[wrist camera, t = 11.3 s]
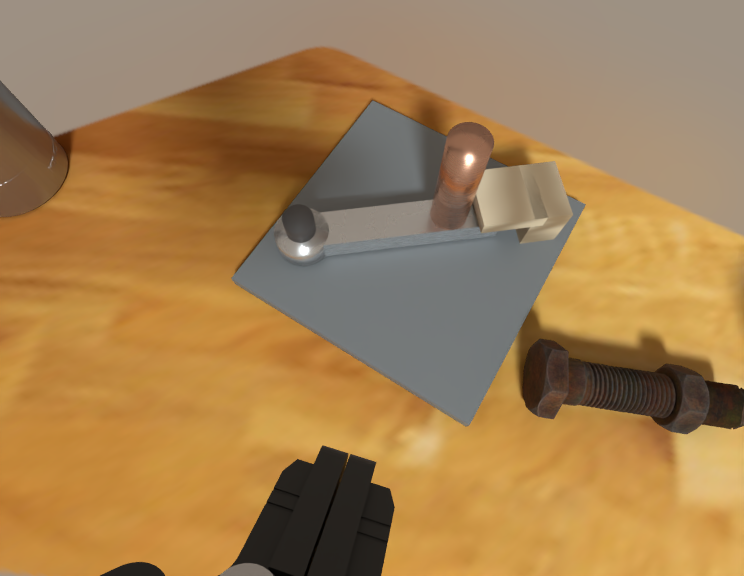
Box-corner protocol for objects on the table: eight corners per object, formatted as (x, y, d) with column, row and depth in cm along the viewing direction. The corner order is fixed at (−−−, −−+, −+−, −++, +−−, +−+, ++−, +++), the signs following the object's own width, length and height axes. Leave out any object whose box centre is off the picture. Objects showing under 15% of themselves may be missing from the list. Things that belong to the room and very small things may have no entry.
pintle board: (466, 426, 36) (482, 418, 30) (235, 283, 40) (214, 255, 35) (580, 211, 42) (609, 174, 37) (372, 109, 47) (372, 63, 41)
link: (280, 269, 39) (247, 195, 28) (276, 222, 40) (244, 137, 30) (496, 243, 40) (540, 162, 29) (485, 198, 41) (522, 107, 31)
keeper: (473, 249, 40) (484, 225, 36) (461, 199, 41) (470, 171, 38) (553, 239, 40) (573, 214, 36) (538, 189, 42) (554, 161, 38)
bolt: (703, 422, 38) (516, 393, 38) (719, 362, 37) (528, 333, 37) (759, 459, 32) (538, 424, 32) (780, 389, 31) (553, 354, 31)
